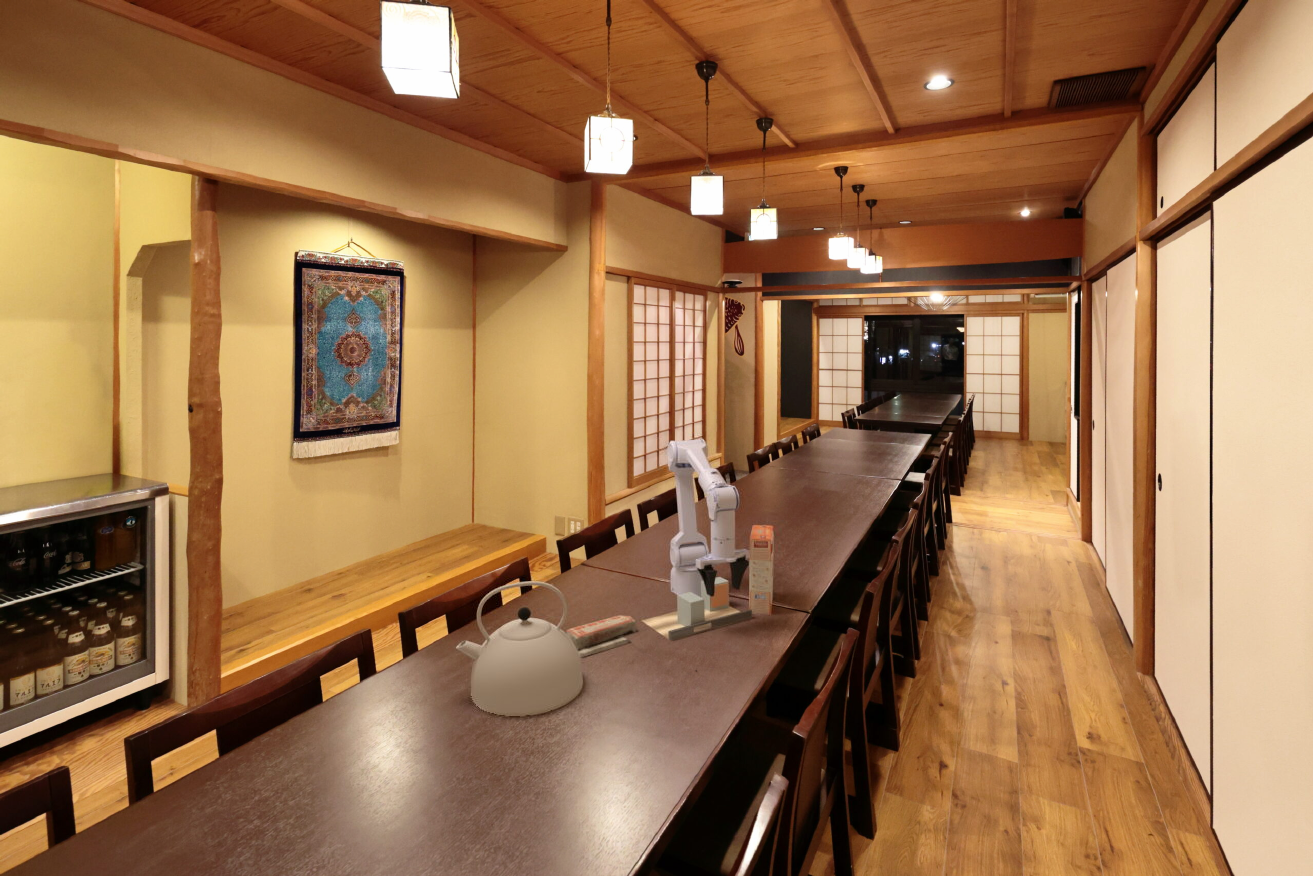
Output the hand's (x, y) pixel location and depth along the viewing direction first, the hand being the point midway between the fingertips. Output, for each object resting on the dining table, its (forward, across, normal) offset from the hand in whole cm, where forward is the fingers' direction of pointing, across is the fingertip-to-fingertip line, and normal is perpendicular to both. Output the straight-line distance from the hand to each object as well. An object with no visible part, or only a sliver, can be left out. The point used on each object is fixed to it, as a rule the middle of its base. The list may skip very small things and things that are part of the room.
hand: (723, 591), depth 162 cm
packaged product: (+11, -27, +12) cm, 31 cm away
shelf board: (+10, -3, +8) cm, 13 cm away
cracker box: (+10, +17, +6) cm, 21 cm away
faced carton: (+9, +6, +11) cm, 16 cm away
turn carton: (+9, -6, +6) cm, 12 cm away
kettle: (+10, -51, +1) cm, 52 cm away
